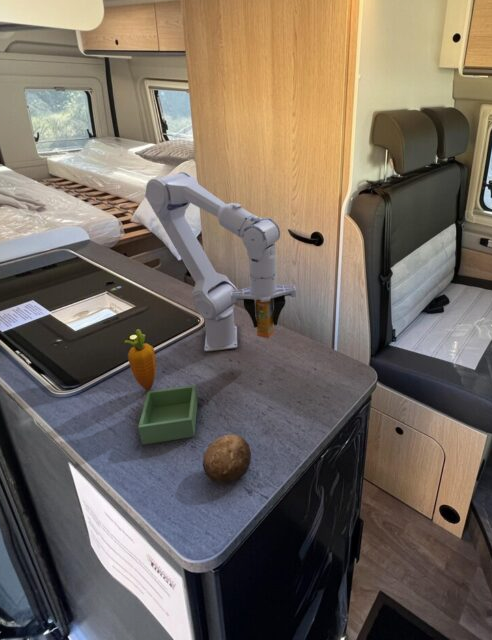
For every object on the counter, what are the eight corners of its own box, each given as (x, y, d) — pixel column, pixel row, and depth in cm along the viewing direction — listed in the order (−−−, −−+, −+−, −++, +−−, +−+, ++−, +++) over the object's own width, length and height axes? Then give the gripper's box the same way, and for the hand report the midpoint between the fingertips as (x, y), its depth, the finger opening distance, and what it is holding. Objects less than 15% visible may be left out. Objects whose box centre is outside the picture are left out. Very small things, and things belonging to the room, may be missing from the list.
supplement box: (255, 336, 92) (253, 300, 88) (263, 328, 95) (261, 293, 91) (268, 339, 91) (266, 303, 87) (275, 331, 94) (274, 296, 90)
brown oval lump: (226, 425, 73) (223, 422, 67) (261, 451, 72) (259, 450, 66) (197, 466, 69) (190, 466, 64) (232, 494, 68) (229, 496, 62)
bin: (150, 407, 80) (147, 391, 78) (197, 401, 82) (195, 384, 80) (142, 445, 72) (137, 427, 70) (194, 436, 74) (191, 419, 72)
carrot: (151, 400, 82) (140, 342, 76) (130, 396, 83) (117, 338, 76) (165, 384, 86) (155, 328, 80) (145, 380, 87) (134, 324, 81)
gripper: (229, 284, 81) (233, 337, 87) (298, 278, 85) (297, 330, 90) (229, 269, 87) (233, 320, 93) (293, 265, 91) (293, 313, 97)
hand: (265, 324), depth 92 cm, fingers closed on supplement box, 4 cm apart
